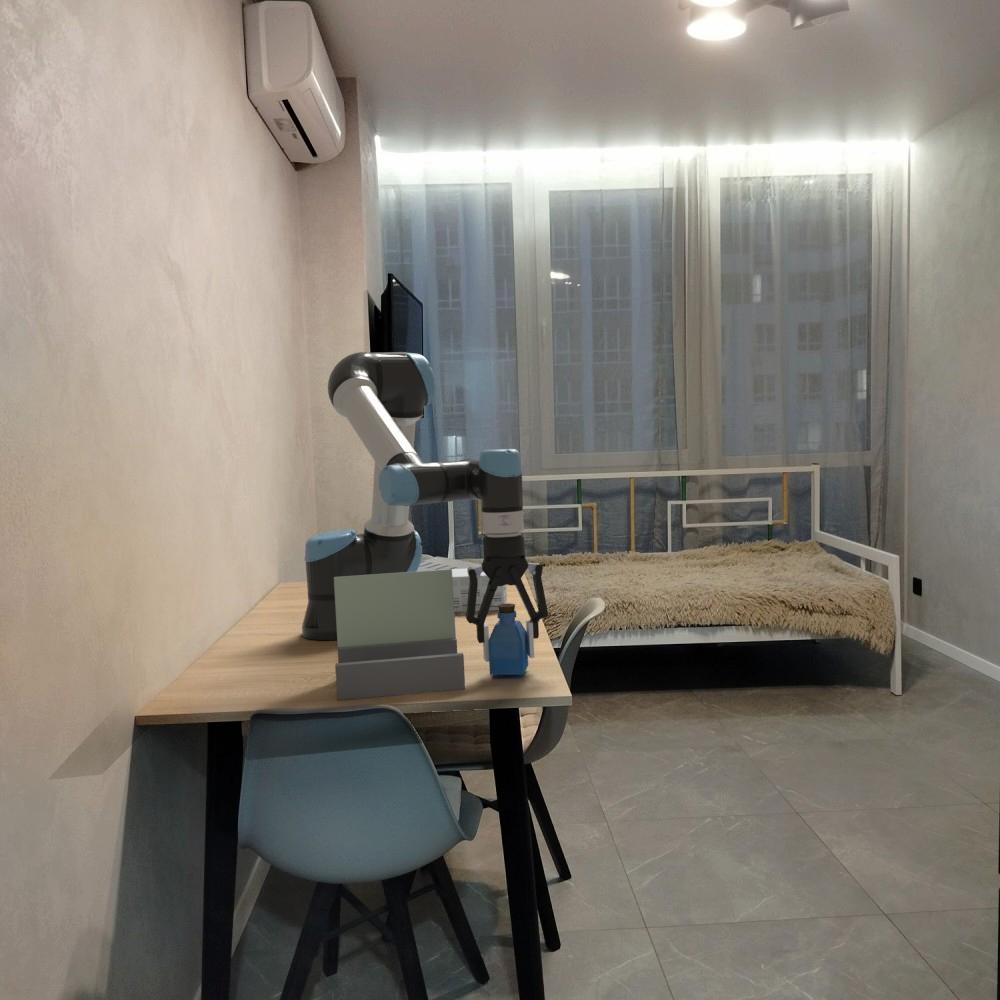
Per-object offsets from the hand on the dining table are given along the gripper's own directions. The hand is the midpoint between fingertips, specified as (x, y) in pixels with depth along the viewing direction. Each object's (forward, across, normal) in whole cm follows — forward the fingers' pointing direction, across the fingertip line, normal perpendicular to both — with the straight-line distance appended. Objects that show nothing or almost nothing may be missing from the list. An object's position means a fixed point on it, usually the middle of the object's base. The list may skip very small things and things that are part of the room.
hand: (508, 657), depth 158 cm
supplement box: (+4, +1, +65) cm, 65 cm away
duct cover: (-9, -20, +7) cm, 23 cm away
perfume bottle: (+2, 0, 0) cm, 2 cm away
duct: (+3, -20, 0) cm, 20 cm away
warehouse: (+4, -4, +94) cm, 94 cm away
